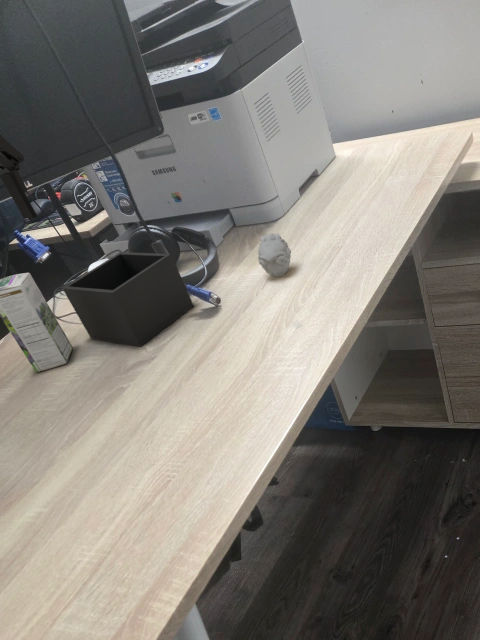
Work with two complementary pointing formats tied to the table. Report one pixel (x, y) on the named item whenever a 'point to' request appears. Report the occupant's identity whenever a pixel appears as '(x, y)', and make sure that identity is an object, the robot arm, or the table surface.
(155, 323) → the open box
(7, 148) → the robot arm
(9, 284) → the syrup box
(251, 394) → the table surface
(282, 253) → the grey decorated egg
